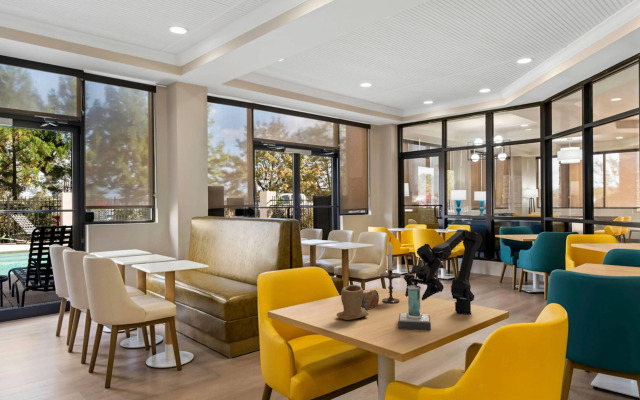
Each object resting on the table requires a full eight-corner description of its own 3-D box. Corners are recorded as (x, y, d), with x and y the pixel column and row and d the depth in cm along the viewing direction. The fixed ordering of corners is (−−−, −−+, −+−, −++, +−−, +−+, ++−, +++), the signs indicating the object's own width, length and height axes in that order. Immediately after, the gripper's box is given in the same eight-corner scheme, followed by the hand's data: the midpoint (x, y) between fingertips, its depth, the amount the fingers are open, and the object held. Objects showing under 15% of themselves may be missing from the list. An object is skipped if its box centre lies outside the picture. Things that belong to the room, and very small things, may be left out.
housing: (418, 314, 183) (417, 284, 184) (425, 318, 177) (424, 287, 177) (403, 315, 182) (403, 285, 182) (410, 319, 175) (409, 288, 176)
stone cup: (347, 323, 183) (347, 289, 183) (333, 317, 193) (332, 285, 193) (375, 318, 190) (374, 285, 191) (360, 313, 201) (359, 281, 201)
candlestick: (404, 303, 220) (403, 236, 220) (385, 304, 217) (384, 237, 218) (396, 298, 230) (395, 235, 231) (377, 300, 228) (376, 235, 228)
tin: (364, 311, 204) (364, 294, 204) (359, 310, 206) (358, 293, 206) (379, 305, 216) (379, 289, 216) (374, 304, 218) (374, 288, 218)
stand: (429, 321, 184) (429, 313, 184) (430, 330, 171) (430, 321, 172) (399, 320, 187) (399, 312, 187) (398, 328, 174) (398, 320, 174)
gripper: (405, 256, 190) (388, 283, 184) (438, 260, 175) (421, 289, 169) (418, 271, 195) (401, 298, 188) (451, 276, 179) (434, 306, 173)
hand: (413, 298), depth 179 cm, fingers open, 9 cm apart
